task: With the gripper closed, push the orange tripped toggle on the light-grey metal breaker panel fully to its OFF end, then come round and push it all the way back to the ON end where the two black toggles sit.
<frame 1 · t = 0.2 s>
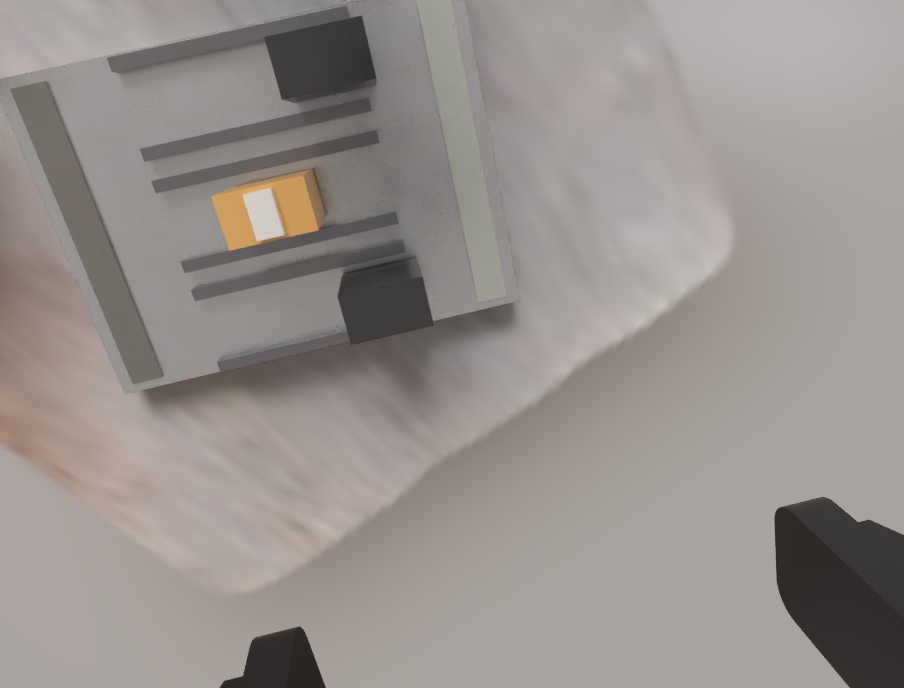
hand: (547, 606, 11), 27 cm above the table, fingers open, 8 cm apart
breaker panel: (286, 196, 34), on the table
tripped toggle: (272, 208, 30), point 5 cm above the table, slide at 4.0 cm
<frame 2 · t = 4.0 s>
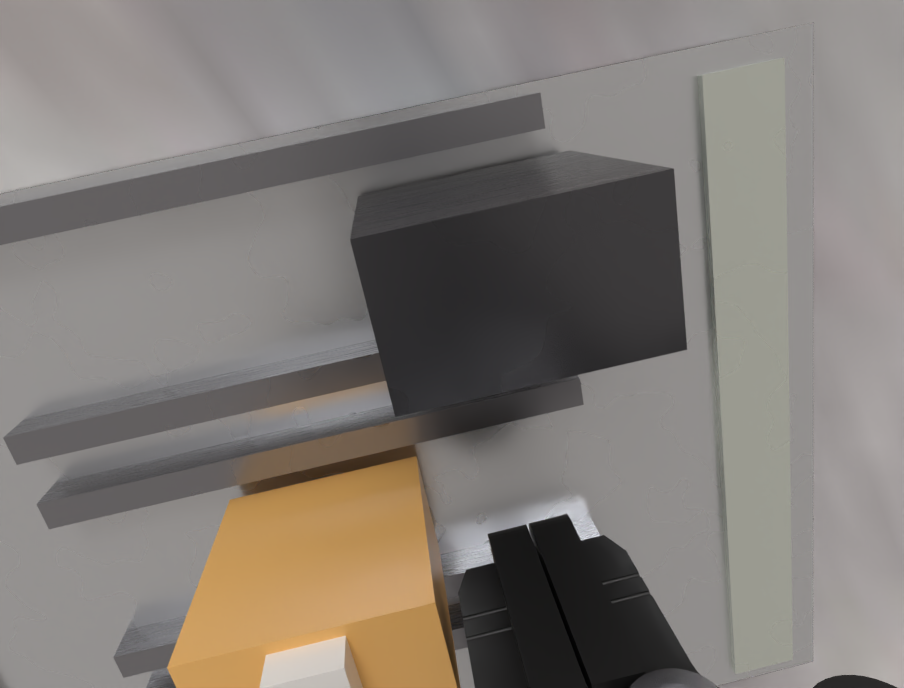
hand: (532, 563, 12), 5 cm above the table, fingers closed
breaker panel: (347, 467, 16), on the table
tripped toggle: (331, 606, 12), point 5 cm above the table, slide at 3.9 cm, touching gripper
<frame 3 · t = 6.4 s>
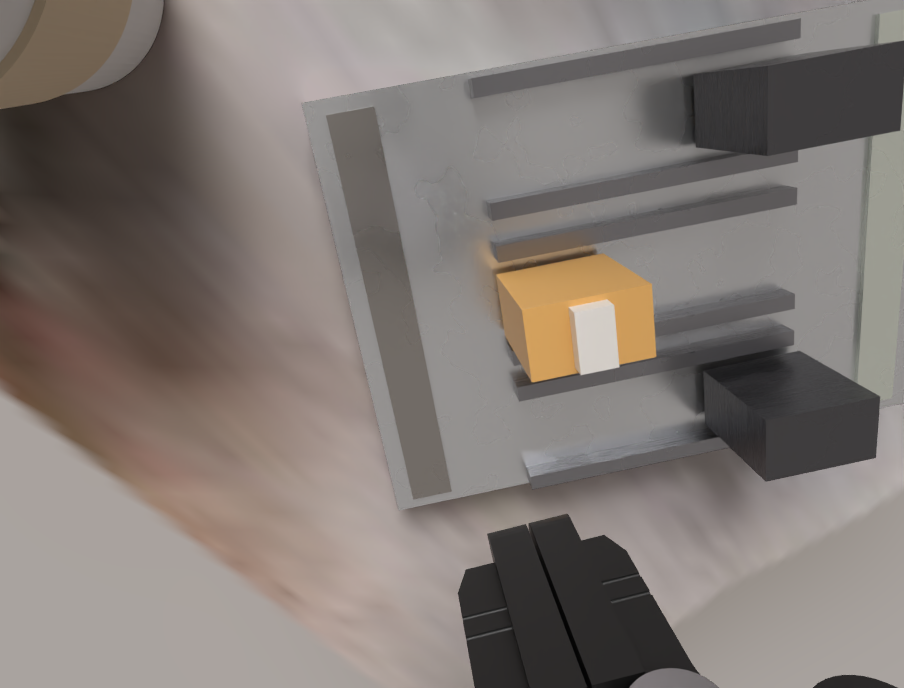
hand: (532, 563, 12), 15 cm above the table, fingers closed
breaker panel: (624, 262, 26), on the table
tripped toggle: (573, 315, 21), point 5 cm above the table, slide at 0.4 cm
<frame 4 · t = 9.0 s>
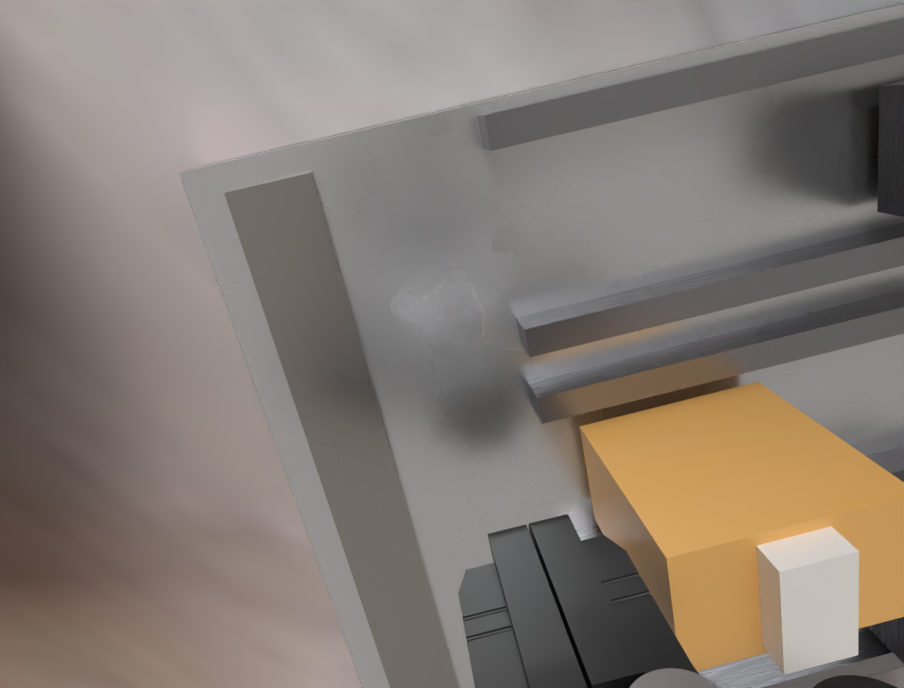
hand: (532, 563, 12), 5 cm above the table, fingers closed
breaker panel: (732, 381, 17), on the table
tripped toggle: (733, 517, 12), point 5 cm above the table, slide at 1.4 cm, touching gripper
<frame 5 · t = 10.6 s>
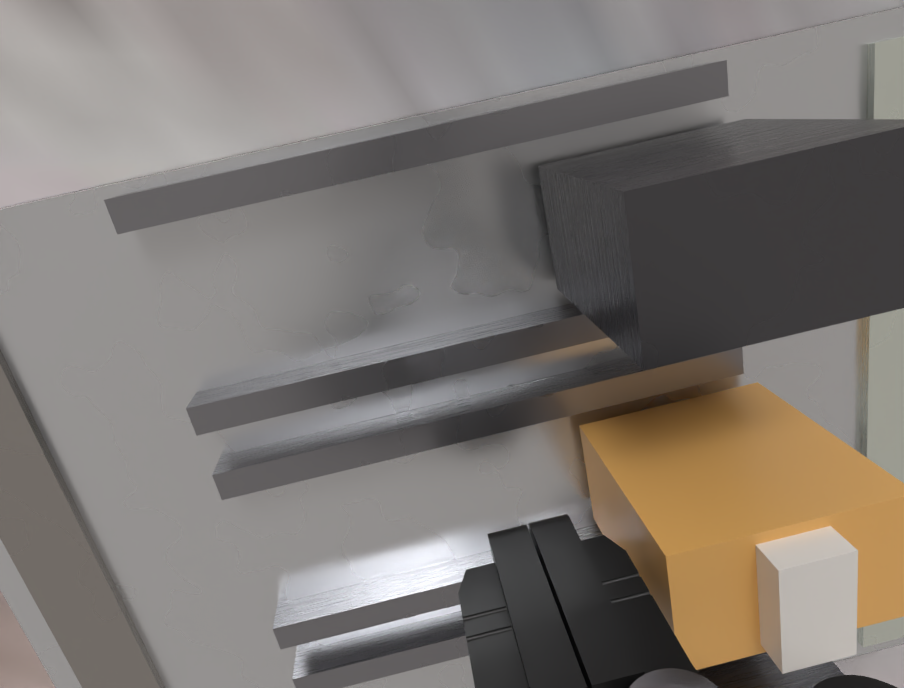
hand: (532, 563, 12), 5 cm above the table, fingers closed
breaker panel: (481, 443, 16), on the table
tripped toggle: (732, 517, 12), point 5 cm above the table, slide at 8.0 cm, touching gripper
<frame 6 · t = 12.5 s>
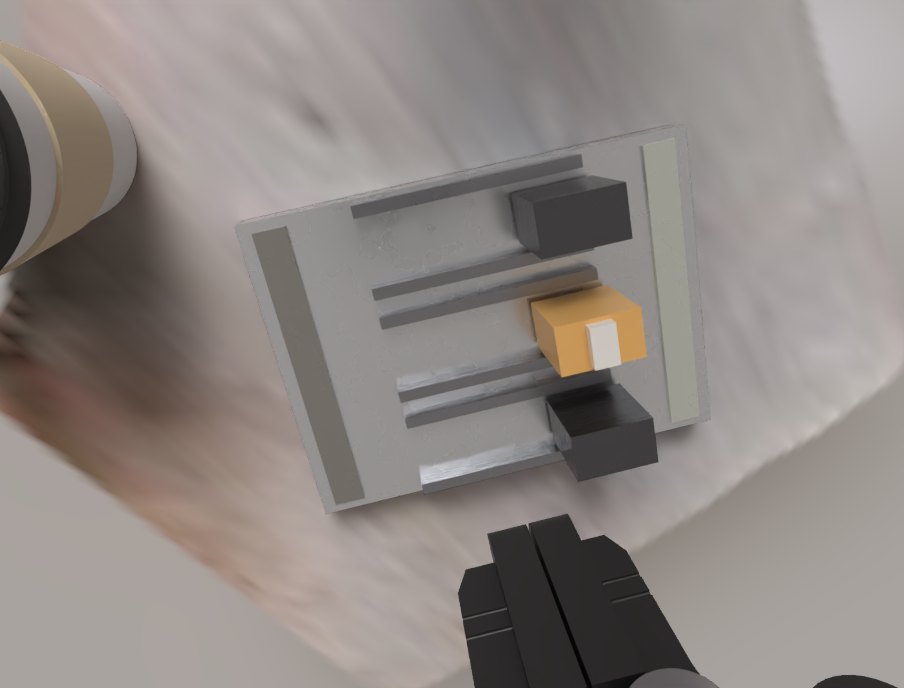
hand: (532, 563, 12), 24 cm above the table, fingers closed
coffee cup: (62, 147, 30), on the table
breaker panel: (487, 321, 35), on the table
tripped toggle: (587, 330, 31), point 5 cm above the table, slide at 8.0 cm
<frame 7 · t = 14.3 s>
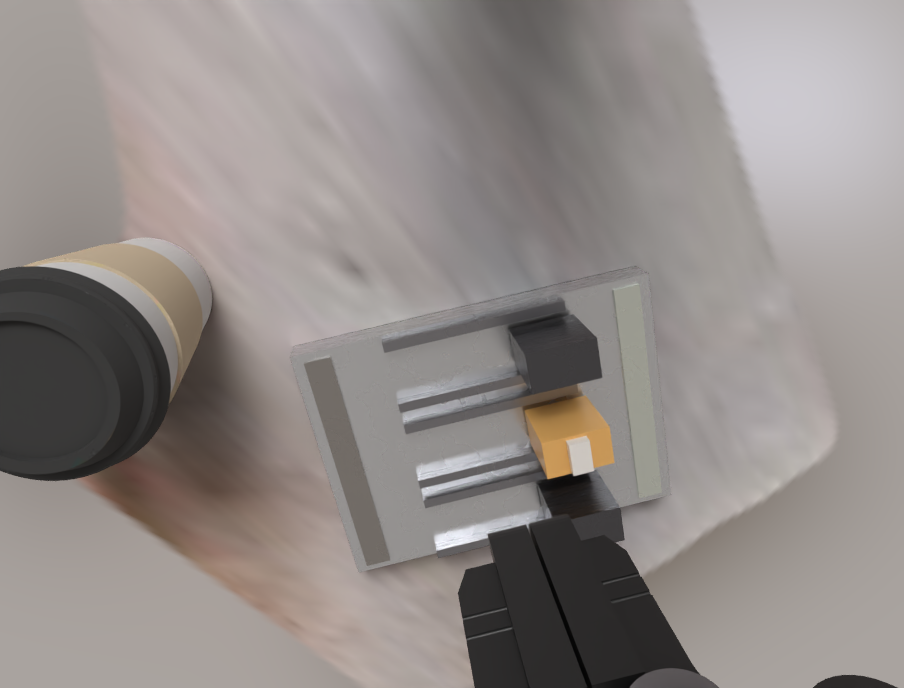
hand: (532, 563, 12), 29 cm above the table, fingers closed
coffee cup: (153, 294, 38), on the table
breaker panel: (489, 417, 43), on the table
tripped toggle: (569, 437, 39), point 5 cm above the table, slide at 8.0 cm
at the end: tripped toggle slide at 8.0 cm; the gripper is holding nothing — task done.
